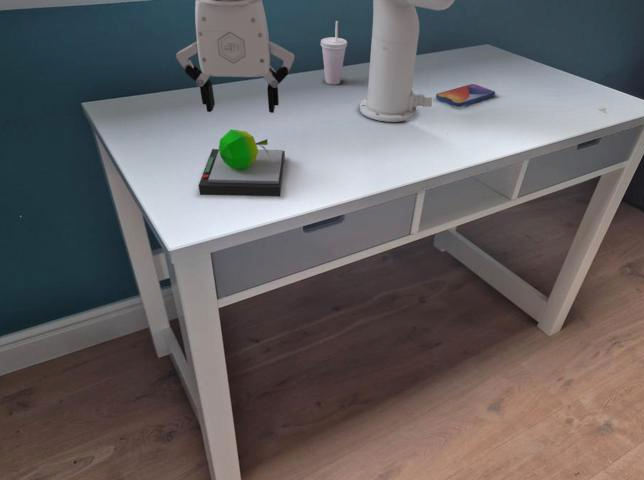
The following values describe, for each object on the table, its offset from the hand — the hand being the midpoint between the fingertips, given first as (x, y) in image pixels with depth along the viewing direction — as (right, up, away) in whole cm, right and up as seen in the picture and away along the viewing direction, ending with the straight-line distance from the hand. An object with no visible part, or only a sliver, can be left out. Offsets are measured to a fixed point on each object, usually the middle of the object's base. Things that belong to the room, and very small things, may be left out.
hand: (241, 108), depth 79 cm
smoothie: (+13, +22, +46) cm, 52 cm away
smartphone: (+45, +16, +41) cm, 64 cm away
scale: (-1, -9, +7) cm, 12 cm away
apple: (0, -8, +6) cm, 10 cm away
